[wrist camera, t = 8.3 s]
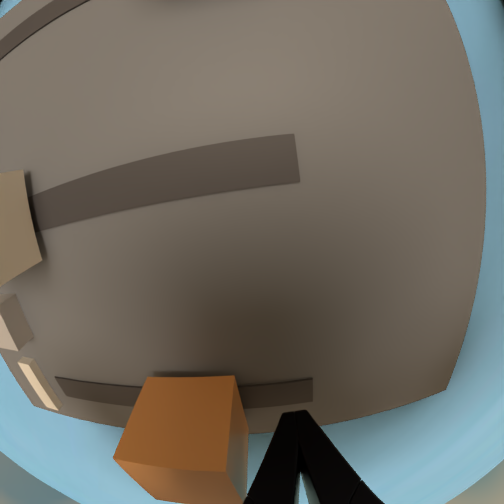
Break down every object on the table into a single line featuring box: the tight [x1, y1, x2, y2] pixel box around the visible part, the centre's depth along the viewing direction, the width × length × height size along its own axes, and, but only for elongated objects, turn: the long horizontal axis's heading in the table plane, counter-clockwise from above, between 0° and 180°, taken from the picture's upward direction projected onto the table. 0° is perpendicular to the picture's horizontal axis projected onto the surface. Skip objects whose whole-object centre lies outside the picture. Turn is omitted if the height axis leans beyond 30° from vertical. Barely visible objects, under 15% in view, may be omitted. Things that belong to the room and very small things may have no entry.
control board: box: [0, 0, 486, 434], centre depth 6 cm, size 22×20×4 cm
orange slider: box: [113, 375, 249, 504], centre depth 7 cm, size 3×3×4 cm
